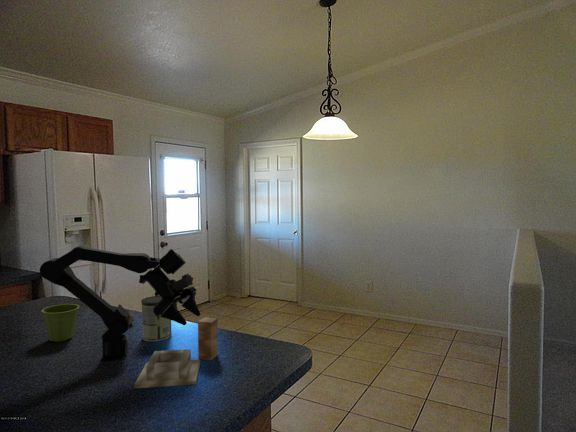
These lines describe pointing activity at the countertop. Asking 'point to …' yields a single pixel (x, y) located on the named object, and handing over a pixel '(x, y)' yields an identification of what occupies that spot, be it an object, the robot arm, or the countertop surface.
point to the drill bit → (131, 318)
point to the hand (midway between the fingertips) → (192, 319)
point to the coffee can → (154, 321)
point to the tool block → (169, 369)
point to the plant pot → (60, 321)
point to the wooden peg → (207, 338)
